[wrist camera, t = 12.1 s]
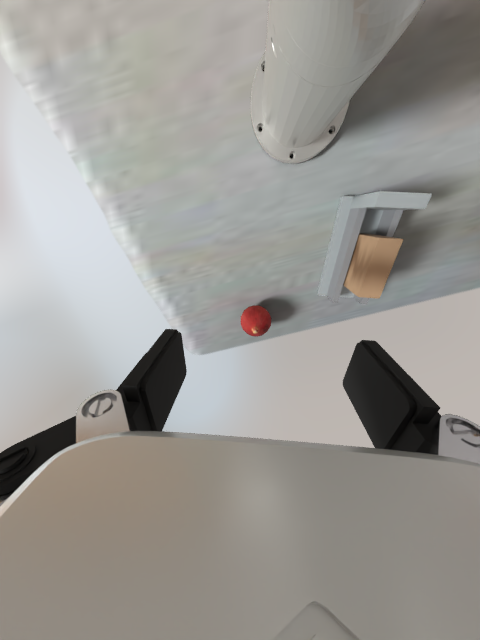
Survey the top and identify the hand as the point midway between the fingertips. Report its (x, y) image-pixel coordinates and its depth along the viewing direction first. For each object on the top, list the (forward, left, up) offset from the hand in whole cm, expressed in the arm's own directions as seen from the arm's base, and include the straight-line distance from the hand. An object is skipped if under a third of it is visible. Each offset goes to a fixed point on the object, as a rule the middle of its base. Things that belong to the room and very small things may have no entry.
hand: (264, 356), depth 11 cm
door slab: (-1, +16, -27) cm, 32 cm away
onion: (+11, +1, -28) cm, 31 cm away
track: (-2, +17, -28) cm, 33 cm away
